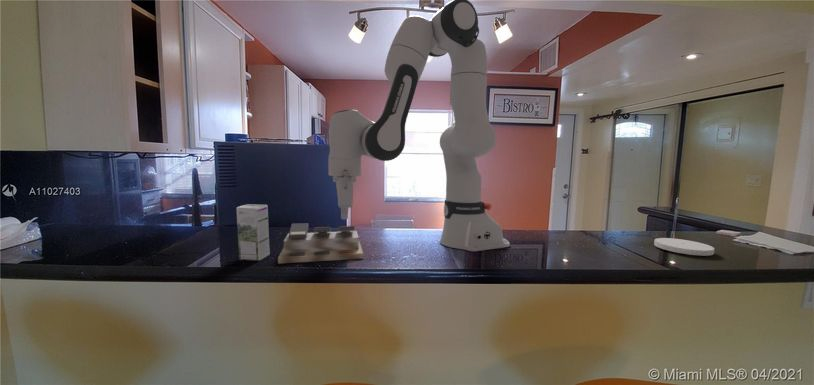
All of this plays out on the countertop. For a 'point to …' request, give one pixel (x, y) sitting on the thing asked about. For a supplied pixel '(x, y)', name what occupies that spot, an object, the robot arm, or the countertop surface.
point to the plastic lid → (684, 246)
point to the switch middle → (321, 229)
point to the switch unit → (322, 247)
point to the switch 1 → (298, 230)
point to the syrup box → (253, 232)
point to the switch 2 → (346, 228)
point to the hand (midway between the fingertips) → (344, 218)
